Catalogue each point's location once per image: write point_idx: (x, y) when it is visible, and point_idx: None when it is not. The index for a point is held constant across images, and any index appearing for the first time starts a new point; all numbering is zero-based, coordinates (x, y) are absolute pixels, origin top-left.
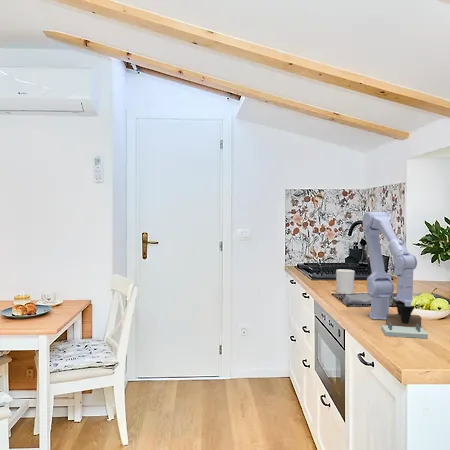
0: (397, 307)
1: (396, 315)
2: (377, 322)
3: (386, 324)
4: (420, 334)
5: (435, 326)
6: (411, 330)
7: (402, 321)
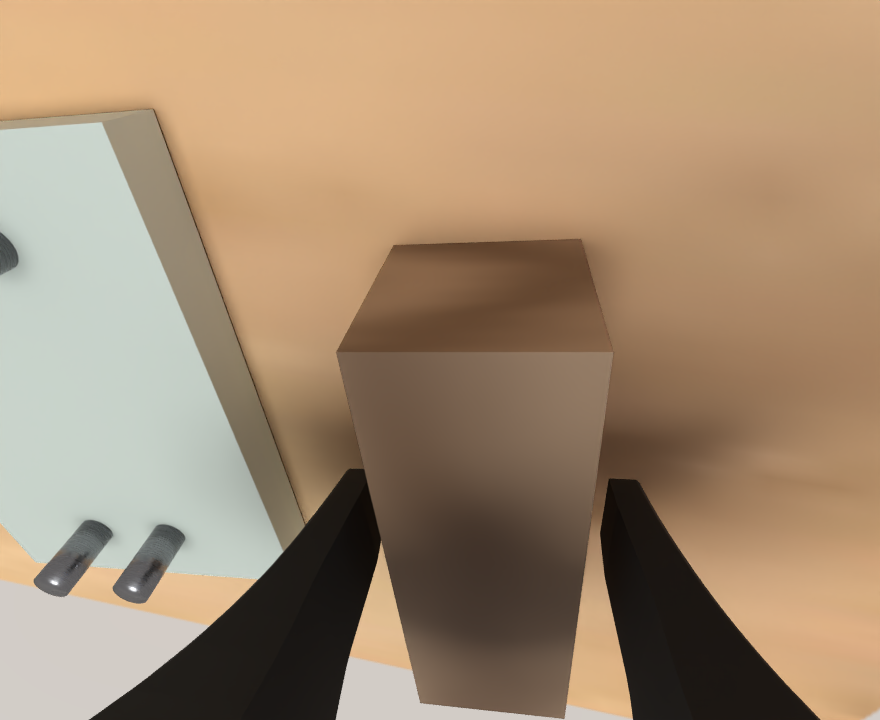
0: (679, 688)
1: (444, 499)
2: (746, 62)
3: (562, 240)
4: (1, 515)
5: (581, 668)
6: (82, 481)
7: (335, 489)
